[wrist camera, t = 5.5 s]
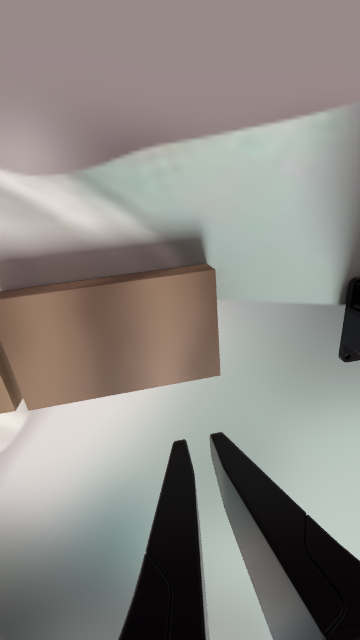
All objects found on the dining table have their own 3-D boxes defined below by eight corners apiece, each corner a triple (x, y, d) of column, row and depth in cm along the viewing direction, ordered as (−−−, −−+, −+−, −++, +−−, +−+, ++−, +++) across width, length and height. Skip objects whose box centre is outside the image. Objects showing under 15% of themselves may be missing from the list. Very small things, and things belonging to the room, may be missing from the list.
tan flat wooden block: (206, 263, 17) (215, 269, 15) (212, 361, 20) (220, 375, 18) (0, 291, 16) (-15, 301, 14) (37, 392, 18) (28, 410, 17)
